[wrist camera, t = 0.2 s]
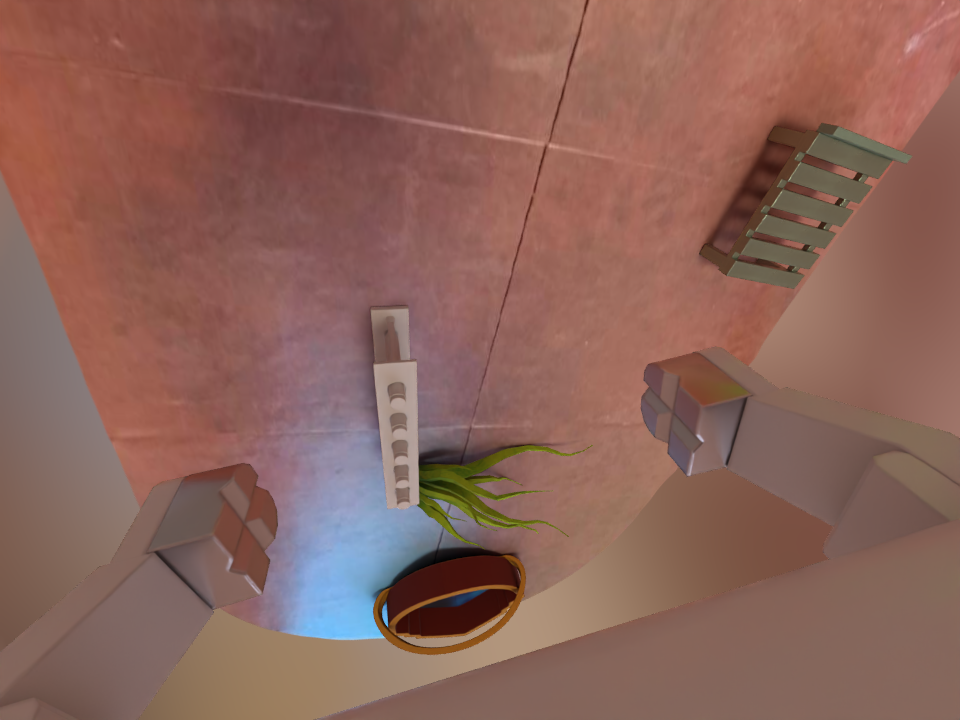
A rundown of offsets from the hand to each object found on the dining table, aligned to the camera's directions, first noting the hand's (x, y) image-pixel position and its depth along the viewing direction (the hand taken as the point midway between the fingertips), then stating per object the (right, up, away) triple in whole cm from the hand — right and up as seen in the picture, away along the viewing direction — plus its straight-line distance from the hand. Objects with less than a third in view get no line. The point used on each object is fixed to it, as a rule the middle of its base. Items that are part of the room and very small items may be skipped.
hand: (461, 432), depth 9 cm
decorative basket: (-7, -48, +87) cm, 100 cm away
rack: (+37, +21, +44) cm, 61 cm away
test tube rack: (-12, -2, +49) cm, 50 cm away
